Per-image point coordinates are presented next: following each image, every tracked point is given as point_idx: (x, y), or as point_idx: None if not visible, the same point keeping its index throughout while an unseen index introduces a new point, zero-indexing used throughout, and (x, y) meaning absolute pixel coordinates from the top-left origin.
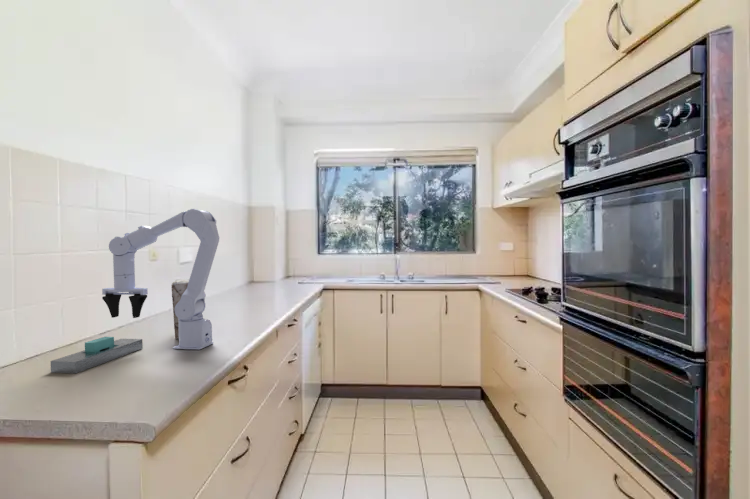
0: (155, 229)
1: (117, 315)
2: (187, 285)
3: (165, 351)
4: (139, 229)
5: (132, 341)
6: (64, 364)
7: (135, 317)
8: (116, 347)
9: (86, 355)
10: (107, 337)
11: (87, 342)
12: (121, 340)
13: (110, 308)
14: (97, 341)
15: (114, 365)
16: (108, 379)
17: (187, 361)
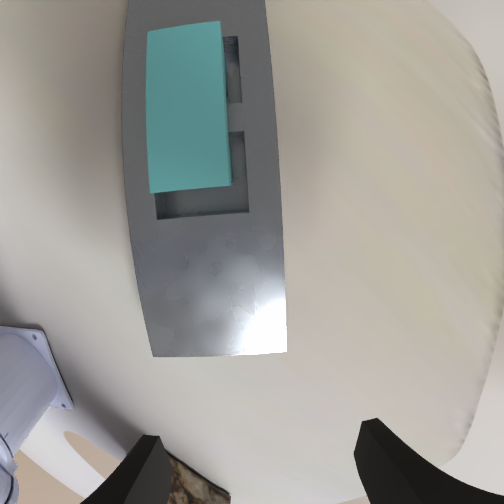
0: None
1: (357, 455)
2: None
3: (42, 301)
4: None
5: (159, 307)
6: None
7: (142, 440)
8: (130, 170)
9: (164, 17)
10: (184, 167)
11: (204, 27)
12: (246, 316)
13: (409, 470)
14: (156, 60)
15: (75, 87)
16: (21, 13)
17: None
